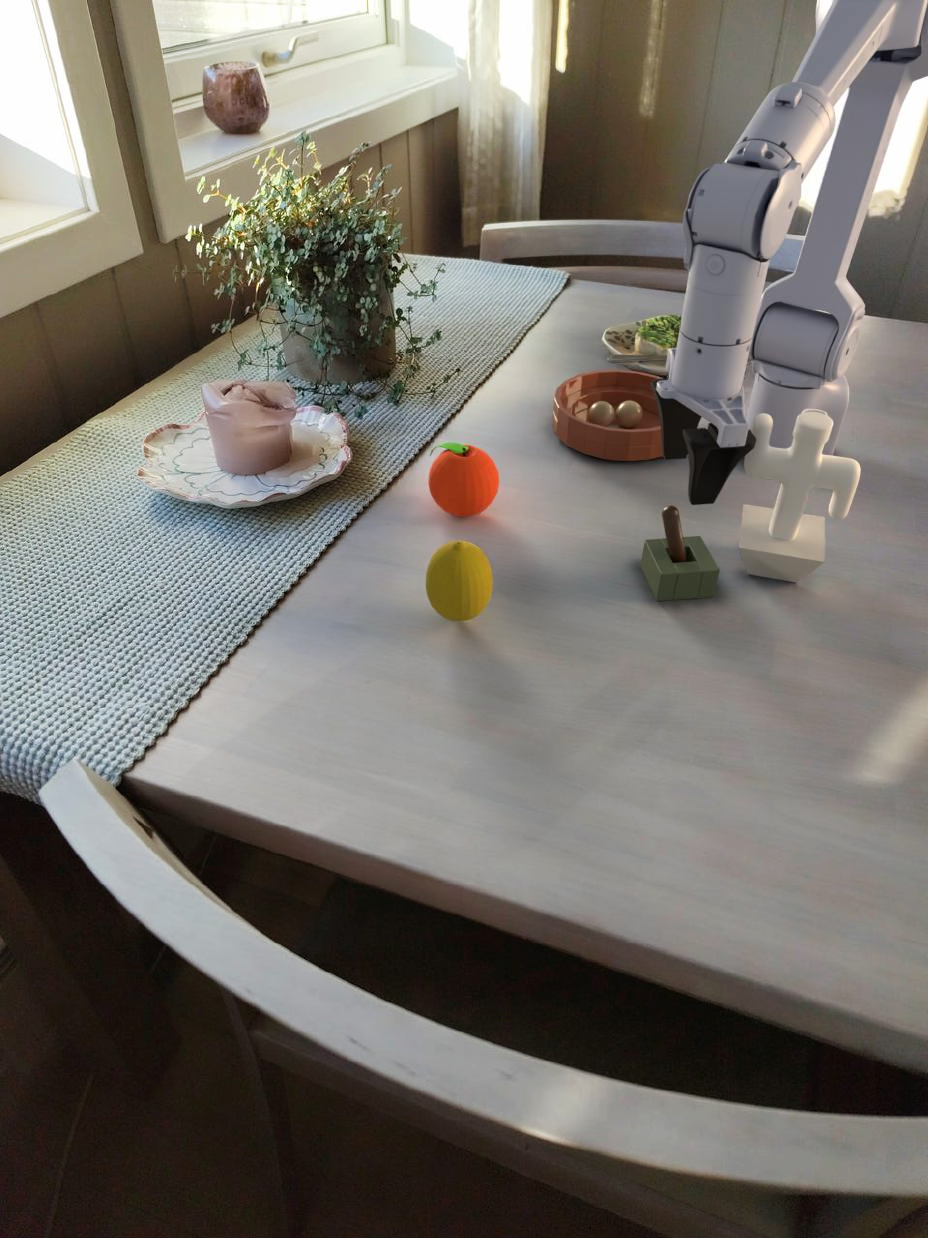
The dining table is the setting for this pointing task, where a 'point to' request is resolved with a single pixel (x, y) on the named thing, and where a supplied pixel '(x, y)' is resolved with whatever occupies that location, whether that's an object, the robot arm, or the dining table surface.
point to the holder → (679, 570)
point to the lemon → (459, 581)
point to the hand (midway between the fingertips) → (687, 479)
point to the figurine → (793, 498)
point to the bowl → (614, 439)
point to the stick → (674, 534)
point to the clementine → (463, 479)
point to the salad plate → (643, 343)
